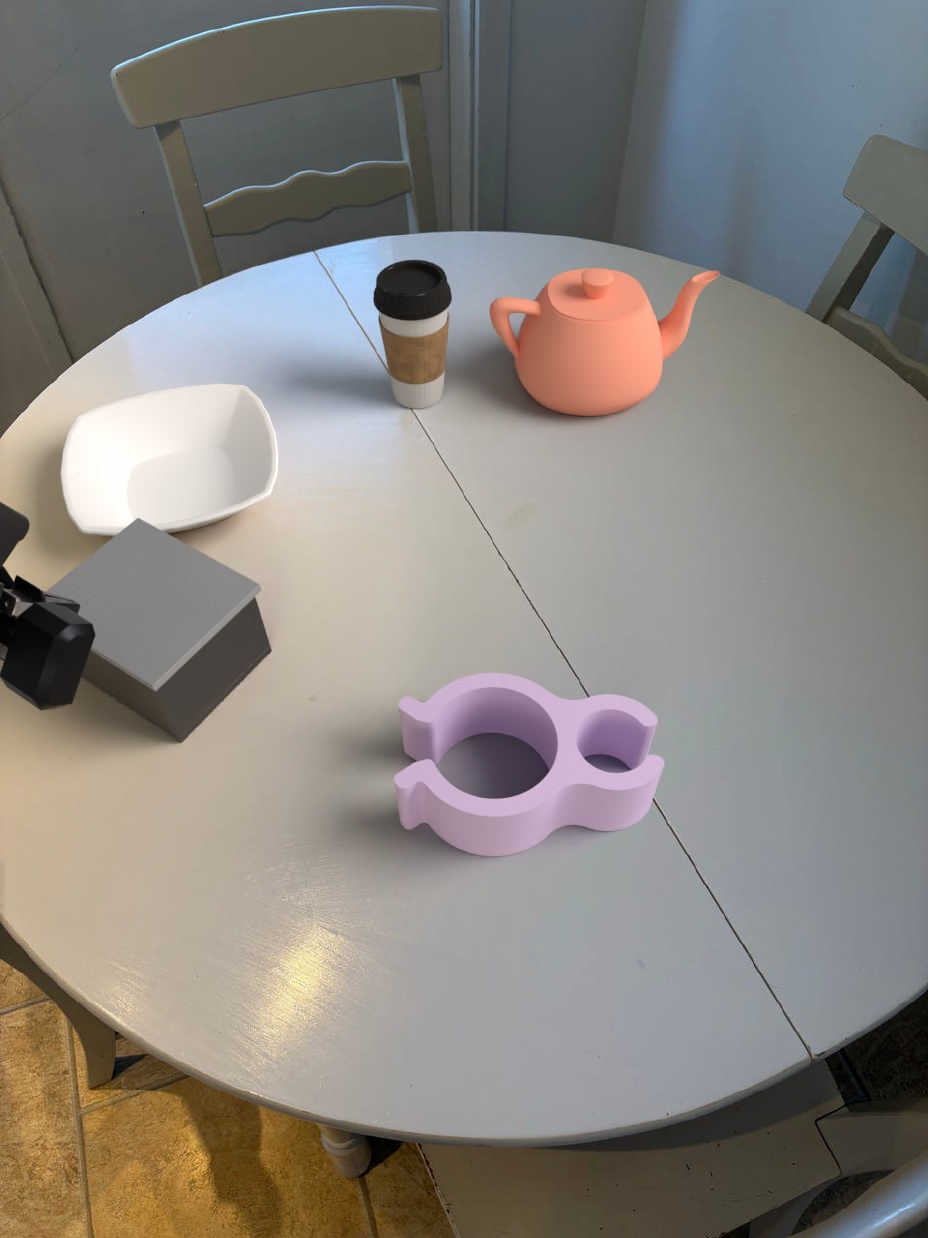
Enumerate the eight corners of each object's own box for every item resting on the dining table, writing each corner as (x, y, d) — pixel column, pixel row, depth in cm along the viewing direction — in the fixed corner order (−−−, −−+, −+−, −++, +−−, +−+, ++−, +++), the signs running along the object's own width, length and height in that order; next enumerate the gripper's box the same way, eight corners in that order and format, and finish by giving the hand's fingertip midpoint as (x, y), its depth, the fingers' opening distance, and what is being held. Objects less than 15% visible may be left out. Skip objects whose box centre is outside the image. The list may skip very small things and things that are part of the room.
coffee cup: (373, 410, 102) (360, 292, 91) (394, 366, 107) (384, 249, 96) (444, 420, 101) (439, 302, 89) (461, 376, 106) (460, 258, 94)
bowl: (300, 539, 90) (292, 502, 86) (80, 586, 86) (60, 549, 82) (269, 409, 103) (260, 371, 99) (75, 445, 99) (58, 407, 95)
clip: (638, 718, 76) (650, 672, 71) (657, 856, 68) (672, 816, 63) (405, 719, 76) (400, 673, 71) (398, 856, 69) (391, 816, 63)
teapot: (681, 332, 111) (702, 229, 101) (713, 418, 101) (741, 313, 90) (482, 341, 110) (483, 238, 100) (494, 429, 100) (497, 324, 89)
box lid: (140, 523, 81) (138, 517, 80) (261, 590, 75) (260, 584, 75) (30, 612, 74) (27, 606, 74) (155, 692, 69) (152, 686, 68)
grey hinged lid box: (158, 584, 86) (134, 528, 80) (272, 651, 81) (255, 596, 75) (64, 666, 80) (31, 612, 74) (181, 743, 75) (155, 692, 69)
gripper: (11, 550, 49) (199, 561, 63) (-185, 431, 56) (26, 465, 70) (-46, 727, 51) (149, 700, 65) (-228, 592, 58) (-15, 594, 72)
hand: (75, 608), depth 68 cm, fingers closed
